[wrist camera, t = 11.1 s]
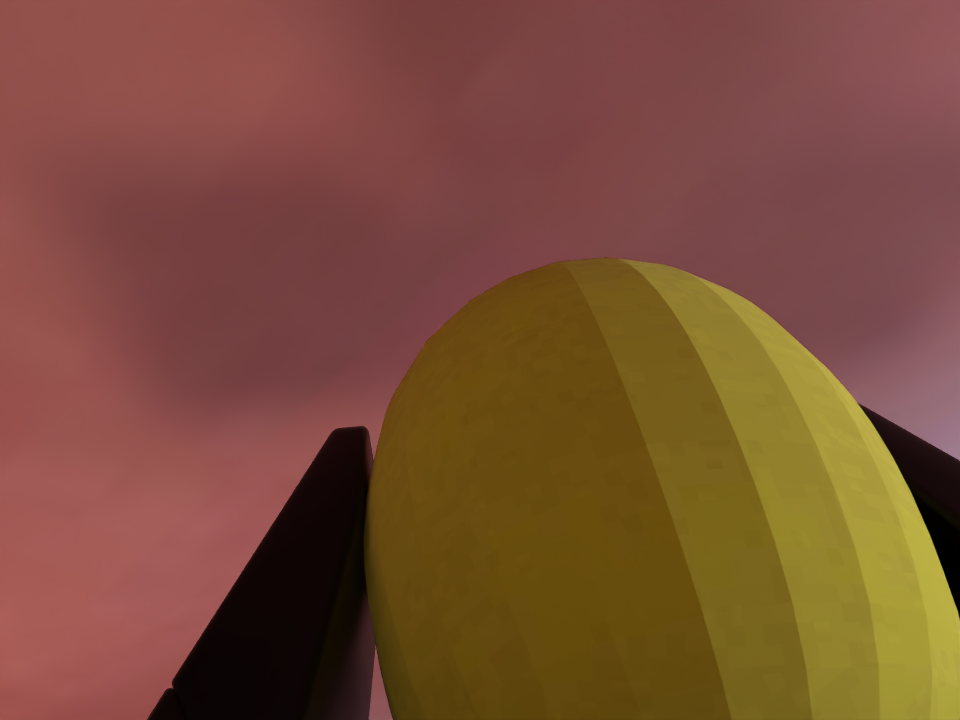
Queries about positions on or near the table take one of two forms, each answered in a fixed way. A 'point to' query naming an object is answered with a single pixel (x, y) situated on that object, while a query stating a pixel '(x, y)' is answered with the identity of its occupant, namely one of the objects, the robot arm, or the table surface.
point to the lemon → (644, 519)
